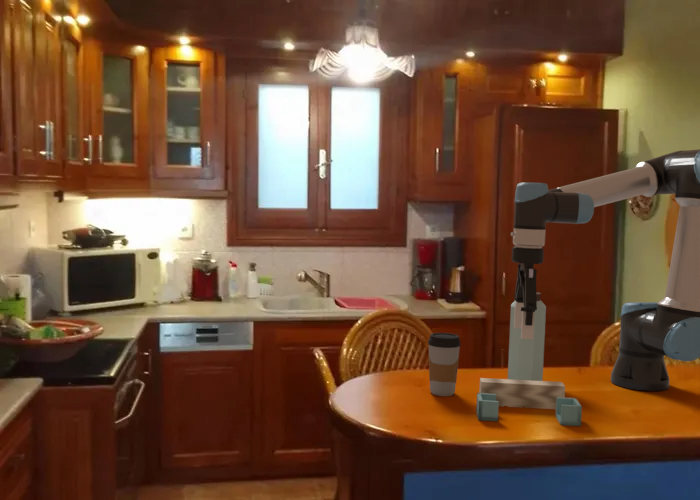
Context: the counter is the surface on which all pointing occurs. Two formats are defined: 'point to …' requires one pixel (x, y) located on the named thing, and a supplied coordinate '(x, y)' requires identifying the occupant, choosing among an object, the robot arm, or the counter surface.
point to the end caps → (565, 409)
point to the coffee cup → (443, 363)
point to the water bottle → (527, 347)
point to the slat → (523, 392)
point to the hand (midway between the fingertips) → (523, 333)
